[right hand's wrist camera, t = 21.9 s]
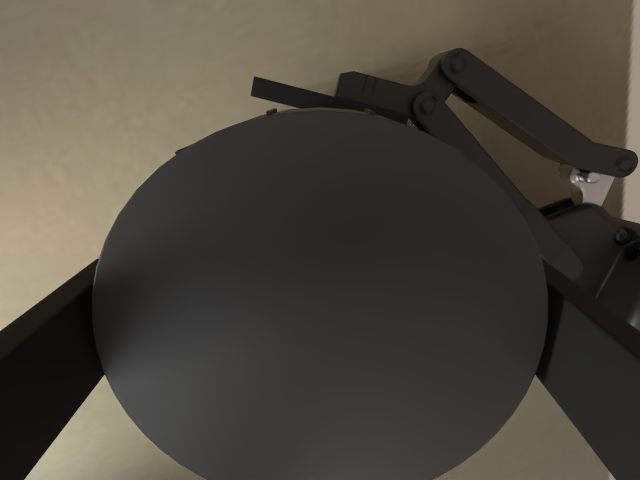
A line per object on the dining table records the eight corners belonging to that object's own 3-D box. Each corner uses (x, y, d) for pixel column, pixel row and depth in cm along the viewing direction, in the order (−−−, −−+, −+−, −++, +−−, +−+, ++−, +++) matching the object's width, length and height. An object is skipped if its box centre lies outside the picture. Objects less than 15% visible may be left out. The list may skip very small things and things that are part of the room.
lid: (592, 311, 12) (637, 347, 10) (319, 503, 15) (319, 557, 13) (320, -3, 9) (321, -25, 7) (47, 309, 12) (1, 346, 10)
